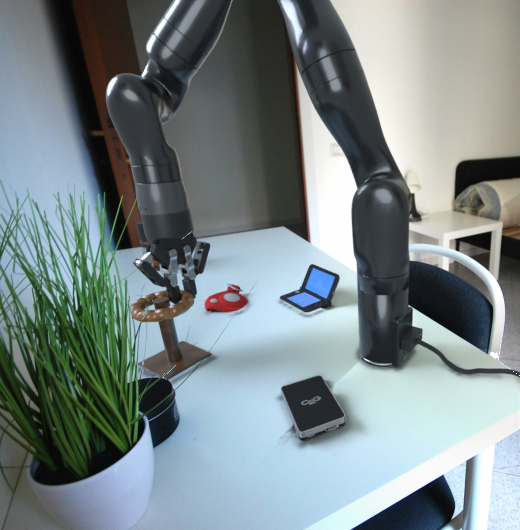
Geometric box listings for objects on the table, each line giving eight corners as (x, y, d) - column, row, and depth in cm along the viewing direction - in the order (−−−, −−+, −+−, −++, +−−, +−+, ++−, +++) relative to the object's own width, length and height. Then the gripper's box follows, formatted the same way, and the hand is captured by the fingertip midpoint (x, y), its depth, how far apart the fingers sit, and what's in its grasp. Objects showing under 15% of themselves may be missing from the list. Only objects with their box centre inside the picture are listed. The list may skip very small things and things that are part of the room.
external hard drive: (300, 445, 50) (299, 433, 50) (280, 396, 60) (279, 386, 59) (347, 427, 53) (346, 416, 52) (321, 383, 62) (320, 373, 62)
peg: (212, 358, 70) (200, 295, 66) (167, 385, 63) (150, 316, 58) (183, 345, 74) (170, 285, 70) (138, 369, 67) (120, 304, 63)
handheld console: (278, 300, 93) (274, 273, 91) (313, 288, 100) (311, 262, 98) (306, 317, 85) (303, 287, 82) (342, 302, 92) (341, 274, 89)
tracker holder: (254, 305, 89) (210, 307, 83) (251, 320, 90) (207, 323, 84) (241, 279, 97) (200, 278, 91) (238, 293, 99) (198, 293, 93)
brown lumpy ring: (206, 304, 67) (204, 294, 66) (152, 329, 59) (149, 318, 58) (173, 293, 71) (171, 284, 71) (119, 315, 63) (116, 305, 63)
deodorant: (171, 264, 121) (161, 219, 116) (160, 270, 116) (149, 224, 111) (154, 263, 122) (144, 219, 117) (142, 270, 116) (131, 224, 111)
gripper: (135, 218, 55) (160, 321, 61) (214, 203, 66) (228, 291, 72) (109, 213, 58) (135, 311, 64) (188, 199, 69) (204, 284, 75)
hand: (184, 300), depth 68 cm, fingers closed on brown lumpy ring, 2 cm apart
